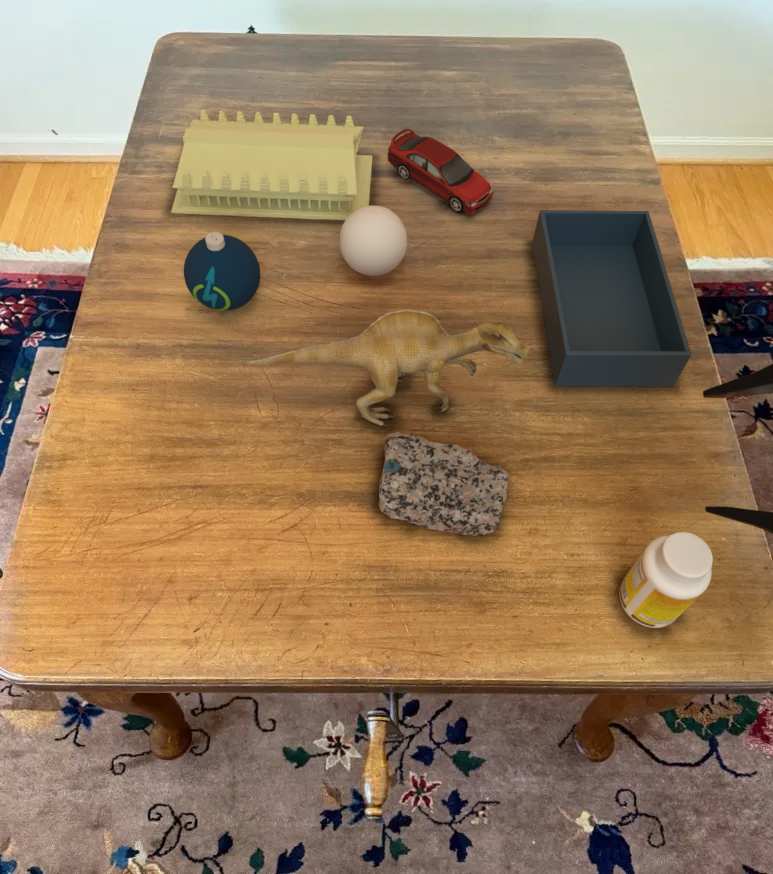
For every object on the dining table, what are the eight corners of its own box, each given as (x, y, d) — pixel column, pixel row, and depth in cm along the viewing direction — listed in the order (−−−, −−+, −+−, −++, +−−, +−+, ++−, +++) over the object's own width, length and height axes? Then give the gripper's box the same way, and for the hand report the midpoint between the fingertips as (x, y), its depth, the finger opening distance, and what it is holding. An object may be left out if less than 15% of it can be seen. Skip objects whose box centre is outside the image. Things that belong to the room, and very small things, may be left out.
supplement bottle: (691, 613, 67) (738, 569, 58) (641, 640, 66) (682, 598, 57) (653, 562, 70) (693, 512, 61) (605, 586, 68) (638, 538, 60)
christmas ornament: (176, 305, 86) (156, 239, 78) (225, 263, 90) (210, 196, 82) (231, 337, 84) (216, 273, 75) (279, 293, 87) (269, 227, 79)
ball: (336, 288, 88) (334, 236, 81) (343, 241, 92) (341, 188, 86) (404, 292, 88) (407, 240, 81) (407, 245, 92) (410, 192, 86)
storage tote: (673, 387, 81) (691, 355, 76) (554, 386, 81) (566, 354, 76) (634, 245, 93) (648, 210, 88) (531, 245, 93) (539, 209, 88)
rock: (368, 521, 72) (368, 499, 68) (386, 446, 76) (387, 422, 72) (497, 546, 70) (505, 525, 67) (508, 469, 75) (515, 445, 71)
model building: (372, 155, 102) (372, 107, 96) (367, 222, 94) (367, 175, 88) (190, 148, 102) (179, 99, 96) (171, 214, 94) (157, 166, 88)
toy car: (413, 150, 102) (414, 118, 98) (494, 204, 97) (500, 172, 92) (384, 168, 100) (384, 135, 96) (465, 224, 94) (470, 192, 90)
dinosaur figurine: (514, 416, 78) (538, 332, 67) (262, 438, 76) (244, 356, 65) (499, 359, 83) (520, 272, 71) (260, 379, 81) (243, 292, 69)
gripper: (965, 279, 46) (694, 306, 53) (988, 585, 43) (699, 571, 50) (929, 330, 56) (704, 347, 63) (946, 581, 53) (709, 570, 60)
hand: (704, 451), depth 59 cm, fingers open, 9 cm apart
